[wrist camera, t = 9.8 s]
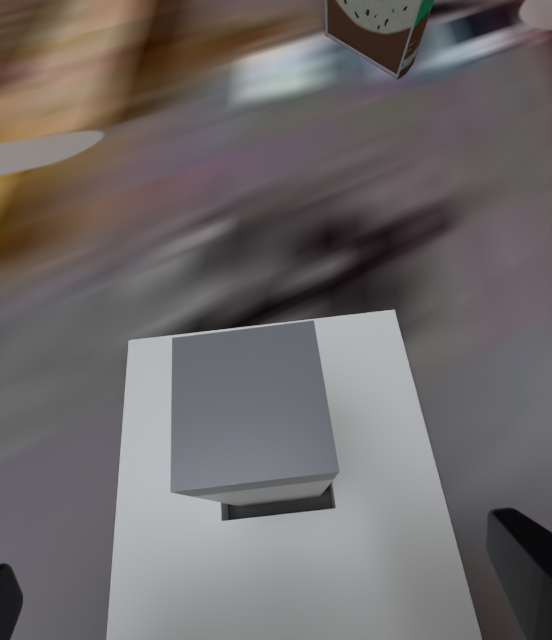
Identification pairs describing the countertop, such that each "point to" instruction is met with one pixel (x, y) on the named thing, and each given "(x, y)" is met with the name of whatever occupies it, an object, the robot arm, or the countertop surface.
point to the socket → (293, 517)
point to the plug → (250, 416)
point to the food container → (379, 30)
